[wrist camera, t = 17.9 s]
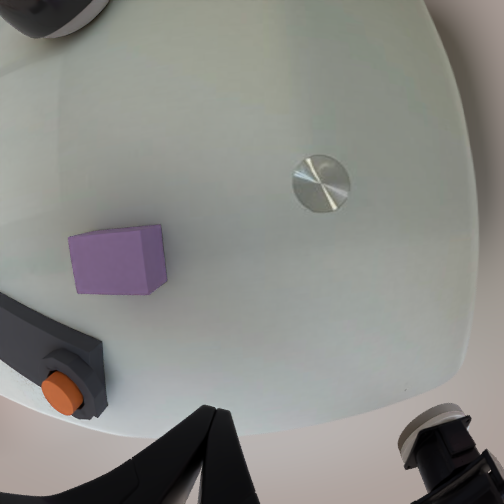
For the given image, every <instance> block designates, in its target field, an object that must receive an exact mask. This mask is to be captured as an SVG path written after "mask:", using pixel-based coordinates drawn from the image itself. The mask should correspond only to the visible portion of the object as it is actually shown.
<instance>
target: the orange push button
mask: <svg viewBox="0 0 504 504" xmlns="http://www.w3.org/2000/svg"><path fill="white" fill-rule="evenodd" d="M42 391H43V394H44V396H45V398H46V399H47V401H48V402H49V403H50V404H51V405H52V407H54V408H55V409H56V410H57V411H58V412H60V413H62V414H64V415H72V414H73V413H74V412H75V411H76V409H77V408H78V407H79V406H80V405H81V404H82V403H83V395H82V393H81V392H80V390H79V388H78V387H77V385H76V384H75V383H74V382H73V381H72V380H71V379H70V378H69V377H68V376H67V375H65V374H63V373H61V372H60V371H56V372H54V373H53V374H52V375H50V376H49V377H48V378H47V379H46V380H44V381H43V382H42Z"/></svg>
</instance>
